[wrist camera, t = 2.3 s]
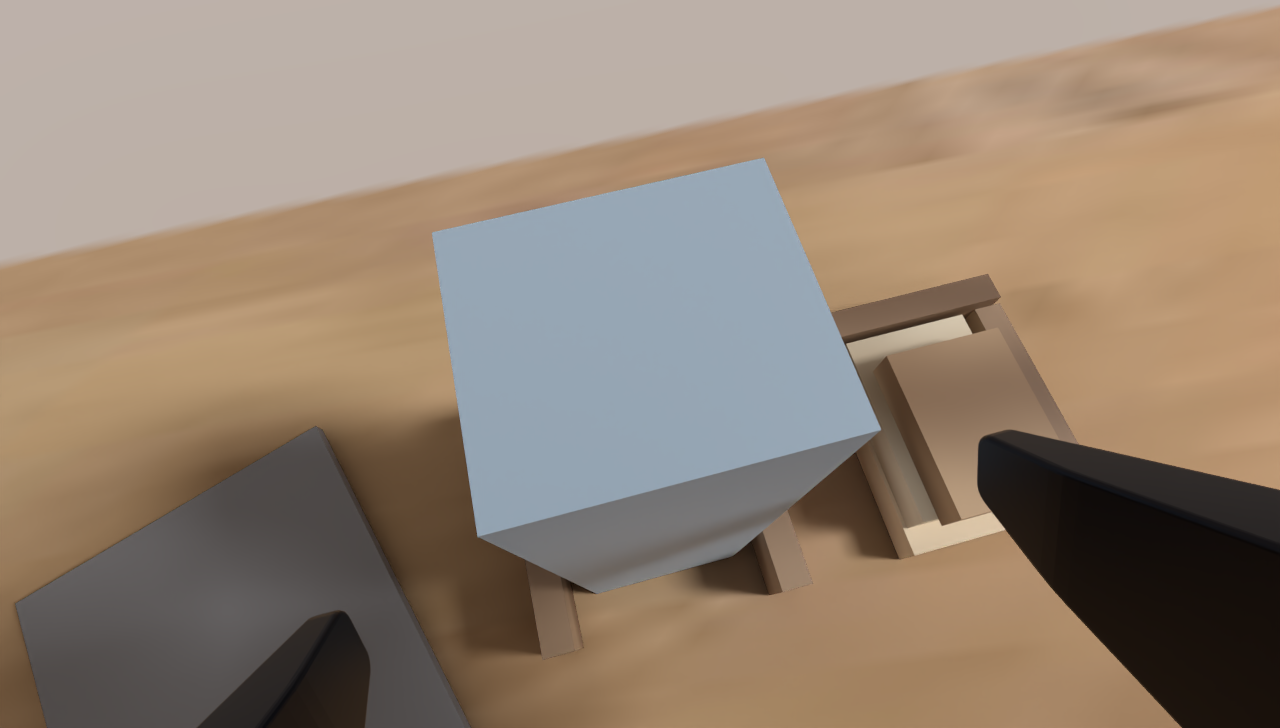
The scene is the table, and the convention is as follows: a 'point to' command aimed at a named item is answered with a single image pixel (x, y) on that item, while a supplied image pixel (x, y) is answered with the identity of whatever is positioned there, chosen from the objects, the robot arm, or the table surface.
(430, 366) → the table surface
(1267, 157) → the table surface
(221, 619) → the mat
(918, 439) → the offcut stack
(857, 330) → the rack
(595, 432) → the block
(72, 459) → the table surface
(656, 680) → the table surface
